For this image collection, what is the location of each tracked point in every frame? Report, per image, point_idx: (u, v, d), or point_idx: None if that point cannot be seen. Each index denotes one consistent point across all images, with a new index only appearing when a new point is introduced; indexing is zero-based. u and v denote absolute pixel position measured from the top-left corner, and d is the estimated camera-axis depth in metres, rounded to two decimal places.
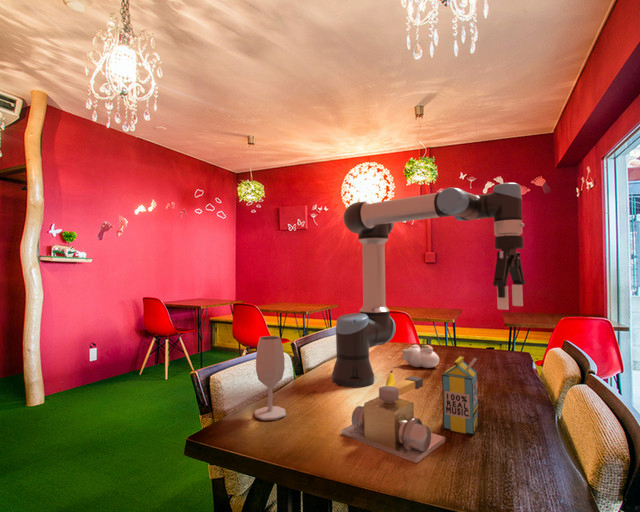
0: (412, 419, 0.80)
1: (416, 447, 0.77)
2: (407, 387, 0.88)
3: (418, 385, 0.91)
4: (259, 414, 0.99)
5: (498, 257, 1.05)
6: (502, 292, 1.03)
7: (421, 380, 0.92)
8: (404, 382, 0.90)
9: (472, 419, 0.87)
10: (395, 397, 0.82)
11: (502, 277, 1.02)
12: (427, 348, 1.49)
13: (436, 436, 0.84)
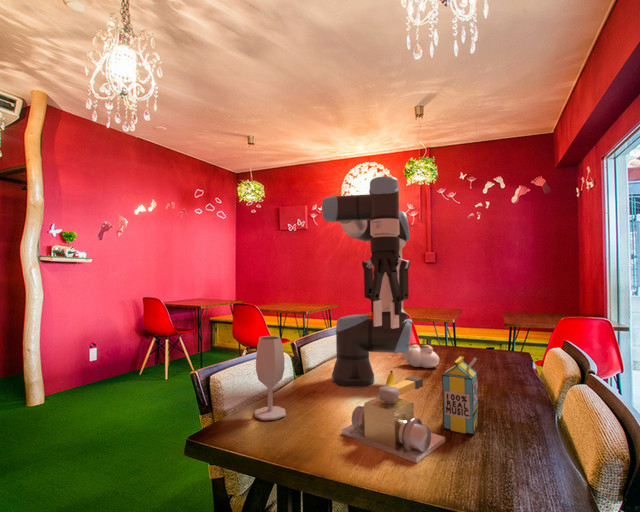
0: (412, 419, 0.80)
1: (416, 447, 0.77)
2: (407, 387, 0.88)
3: (418, 385, 0.91)
4: (259, 414, 0.99)
5: None
6: None
7: (421, 380, 0.92)
8: (404, 382, 0.90)
9: (472, 419, 0.87)
10: (395, 397, 0.82)
11: None
12: (427, 348, 1.49)
13: (436, 436, 0.84)
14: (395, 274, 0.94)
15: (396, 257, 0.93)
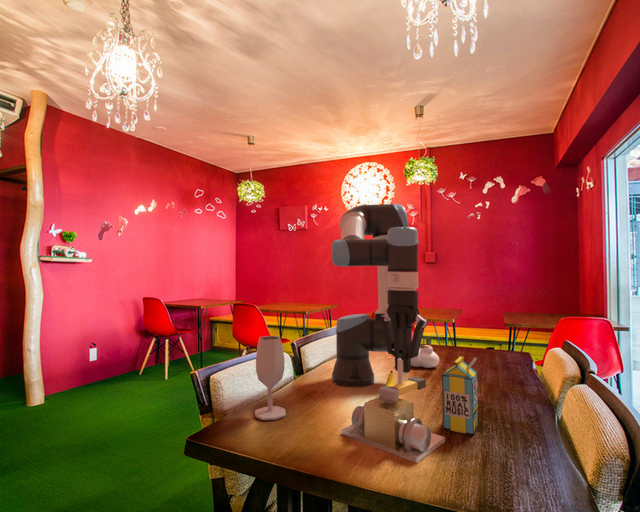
0: (412, 419, 0.80)
1: (416, 447, 0.77)
2: (408, 388, 0.88)
3: (420, 385, 0.90)
4: (259, 414, 0.99)
5: None
6: None
7: (424, 381, 0.92)
8: (406, 382, 0.90)
9: (472, 419, 0.87)
10: (394, 397, 0.82)
11: None
12: (427, 348, 1.49)
13: (436, 436, 0.84)
14: (410, 330, 0.91)
15: (415, 314, 0.88)
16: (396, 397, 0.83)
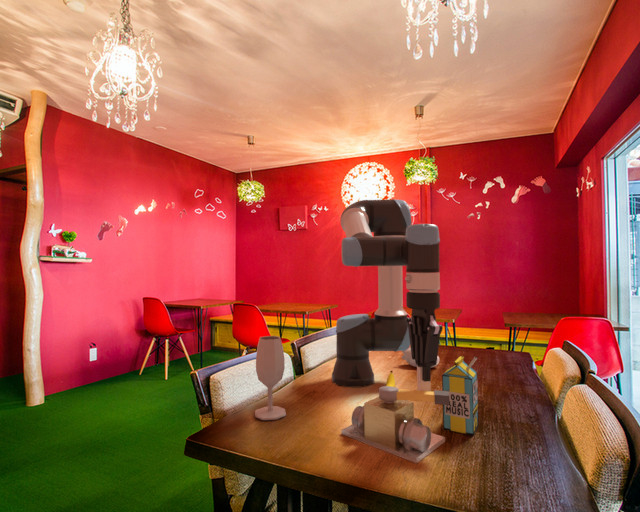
0: (412, 419, 0.80)
1: (416, 447, 0.77)
2: (415, 396, 0.82)
3: (438, 400, 0.80)
4: (259, 414, 0.99)
5: None
6: None
7: (446, 397, 0.80)
8: (422, 392, 0.83)
9: (472, 419, 0.87)
10: (385, 397, 0.82)
11: None
12: None
13: (436, 436, 0.84)
14: None
15: (428, 318, 0.81)
16: (387, 398, 0.82)
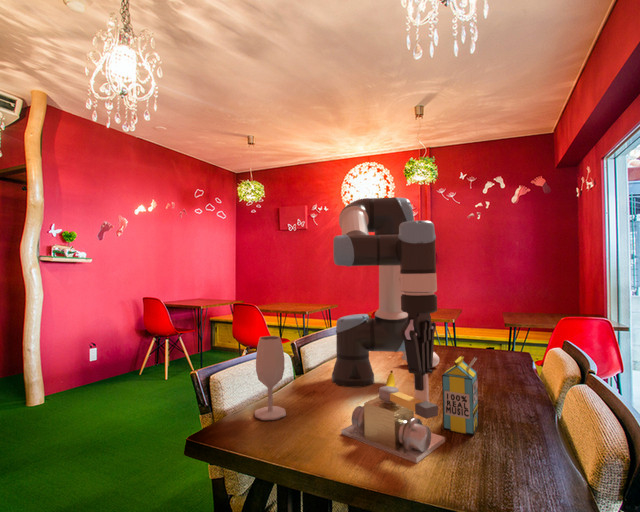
0: (412, 419, 0.80)
1: (416, 447, 0.77)
2: (403, 401, 0.79)
3: (417, 410, 0.74)
4: (259, 414, 0.99)
5: None
6: None
7: (423, 409, 0.73)
8: (413, 399, 0.78)
9: (472, 419, 0.87)
10: (379, 395, 0.84)
11: None
12: None
13: (436, 436, 0.84)
14: (418, 342, 0.77)
15: (407, 322, 0.76)
16: (381, 396, 0.83)
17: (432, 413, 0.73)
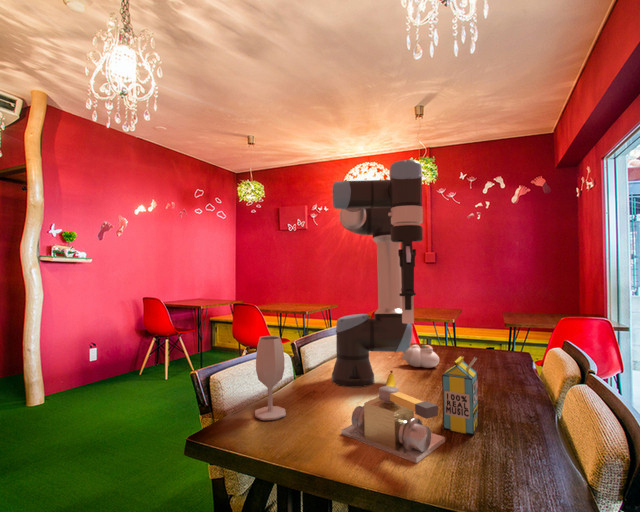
0: (412, 419, 0.80)
1: (416, 447, 0.77)
2: (403, 401, 0.79)
3: (417, 410, 0.74)
4: (259, 414, 0.99)
5: None
6: None
7: (423, 409, 0.73)
8: (413, 399, 0.78)
9: (472, 419, 0.87)
10: (379, 395, 0.84)
11: None
12: (427, 348, 1.49)
13: (436, 436, 0.84)
14: None
15: (403, 248, 0.86)
16: (381, 396, 0.83)
17: (432, 413, 0.73)
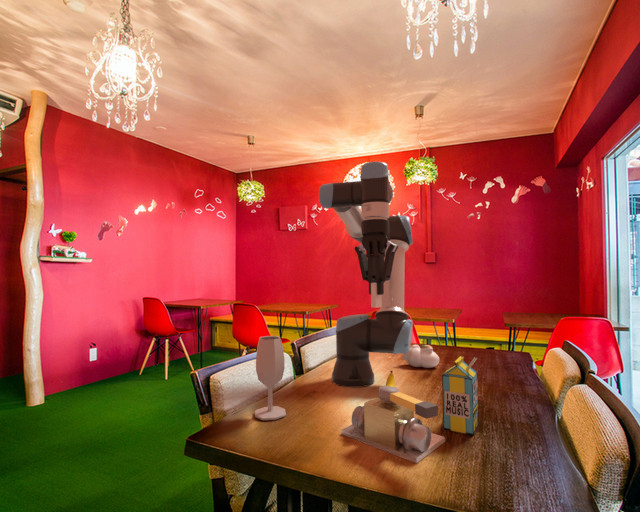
0: (412, 419, 0.80)
1: (416, 447, 0.77)
2: (403, 401, 0.79)
3: (417, 410, 0.74)
4: (259, 414, 0.99)
5: None
6: None
7: (423, 409, 0.73)
8: (413, 399, 0.78)
9: (472, 419, 0.87)
10: (379, 395, 0.84)
11: None
12: (427, 348, 1.49)
13: (436, 436, 0.84)
14: (382, 256, 0.99)
15: (386, 239, 0.97)
16: (381, 396, 0.83)
17: (432, 413, 0.73)
